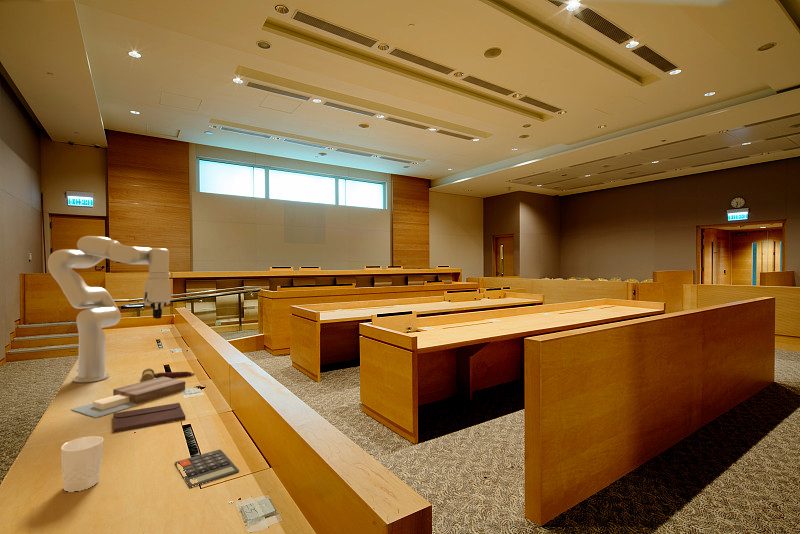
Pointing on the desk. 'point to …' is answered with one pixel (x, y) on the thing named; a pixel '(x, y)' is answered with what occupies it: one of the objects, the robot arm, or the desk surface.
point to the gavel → (162, 374)
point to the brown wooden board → (150, 389)
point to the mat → (97, 412)
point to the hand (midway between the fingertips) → (157, 318)
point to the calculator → (207, 467)
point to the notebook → (147, 417)
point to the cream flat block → (110, 401)
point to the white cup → (81, 463)
